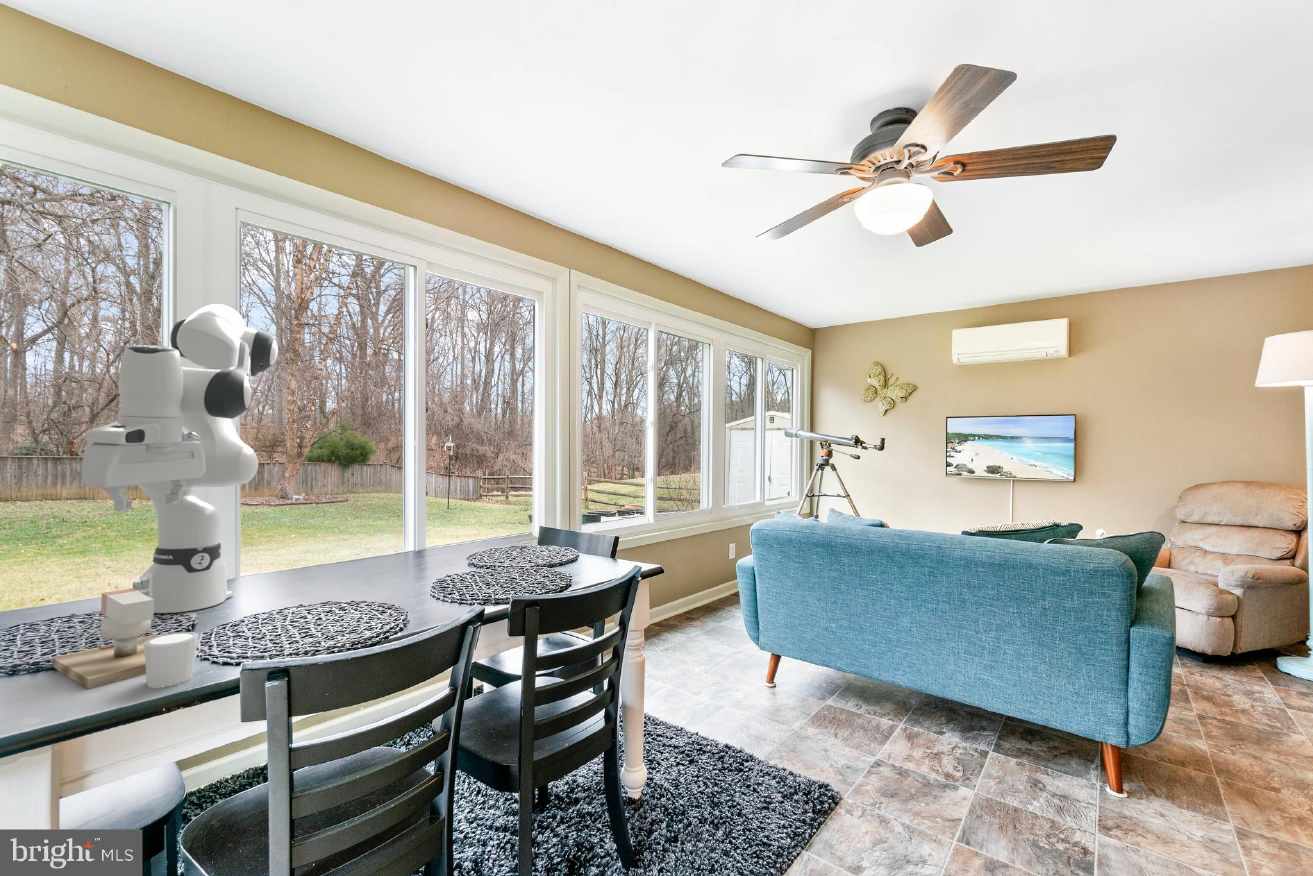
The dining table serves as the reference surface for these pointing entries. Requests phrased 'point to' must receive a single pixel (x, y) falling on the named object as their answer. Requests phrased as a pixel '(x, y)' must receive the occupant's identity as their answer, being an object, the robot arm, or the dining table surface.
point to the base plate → (101, 664)
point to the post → (125, 647)
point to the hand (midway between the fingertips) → (149, 506)
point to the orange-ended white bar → (125, 614)
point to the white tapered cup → (170, 658)
